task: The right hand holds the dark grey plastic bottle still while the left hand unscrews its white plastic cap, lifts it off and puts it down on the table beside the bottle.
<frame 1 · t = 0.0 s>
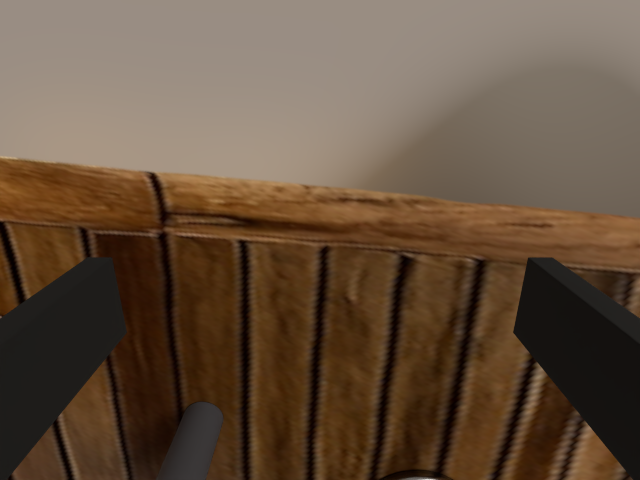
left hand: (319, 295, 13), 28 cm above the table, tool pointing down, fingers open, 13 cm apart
bottle: (203, 417, 50), on the table
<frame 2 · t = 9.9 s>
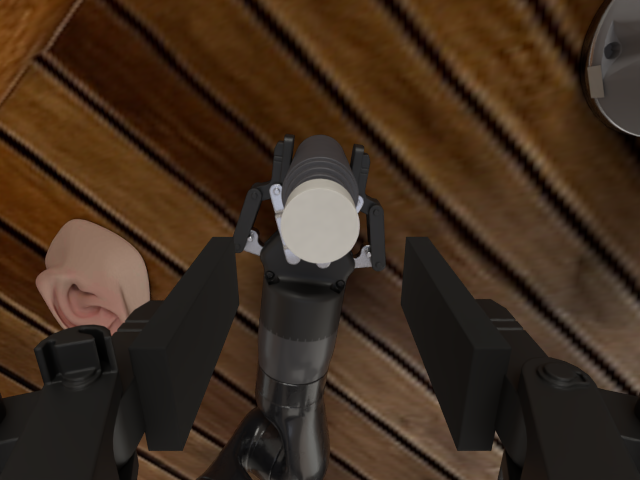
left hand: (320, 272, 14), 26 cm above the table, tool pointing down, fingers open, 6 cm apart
right hand: (324, 141, 32), fingers closed on bottle, 5 cm apart
cap: (320, 225, 19), point 21 cm above the table, screwed on, not yet turned
bottle: (319, 160, 39), on the table, touching right hand
anatomical model: (101, 278, 43), on the table
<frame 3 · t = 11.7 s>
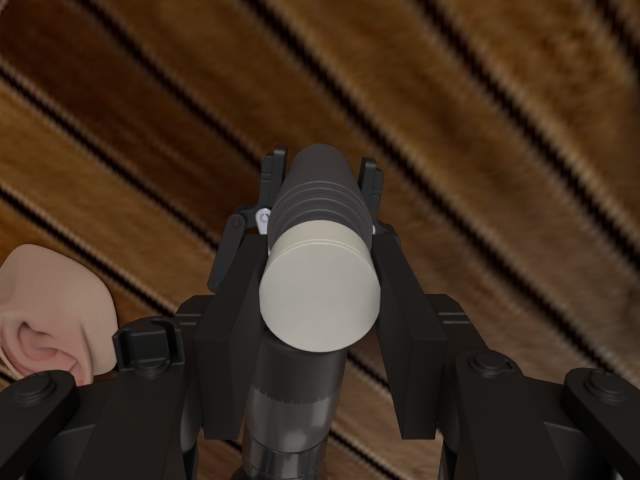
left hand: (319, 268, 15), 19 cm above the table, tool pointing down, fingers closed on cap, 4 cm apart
cap: (319, 296, 13), point 21 cm above the table, screwed on, not yet turned, touching left hand
bottle: (319, 174, 32), on the table, touching right hand
anatomical model: (60, 313, 36), on the table
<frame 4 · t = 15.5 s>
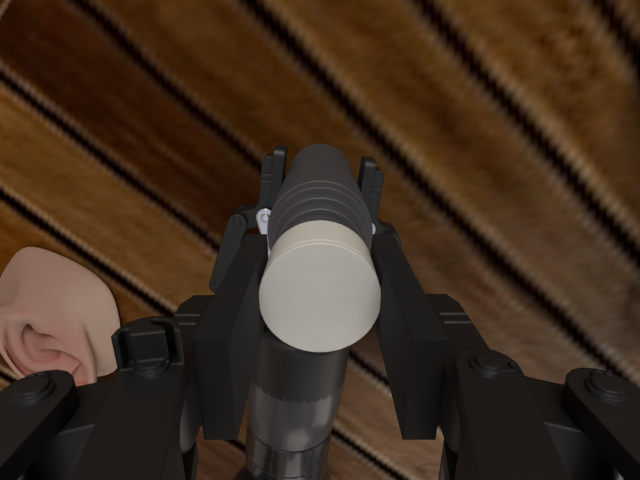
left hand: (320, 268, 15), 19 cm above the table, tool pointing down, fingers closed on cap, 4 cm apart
cap: (319, 296, 13), point 21 cm above the table, turned 136° so far, risen 0.1 cm, still on its thread, touching left hand
bottle: (320, 174, 32), on the table, touching right hand
anatomical model: (63, 315, 37), on the table
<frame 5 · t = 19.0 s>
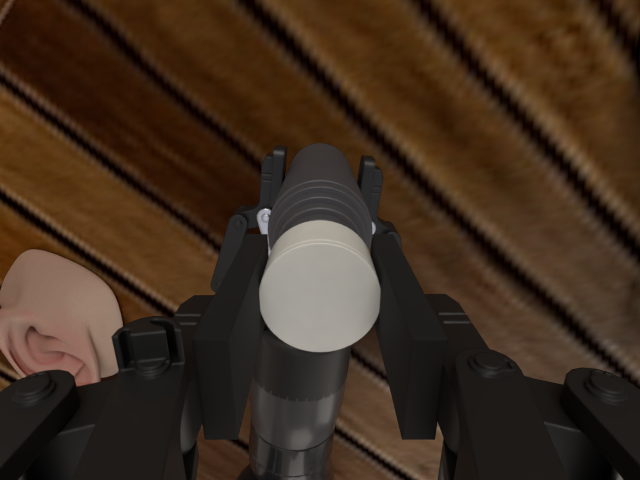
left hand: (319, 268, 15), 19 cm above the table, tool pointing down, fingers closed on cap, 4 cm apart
cap: (319, 296, 13), point 21 cm above the table, turned 273° so far, risen 0.3 cm, still on its thread, touching left hand
bottle: (320, 174, 32), on the table, touching right hand
anatomical model: (66, 317, 37), on the table
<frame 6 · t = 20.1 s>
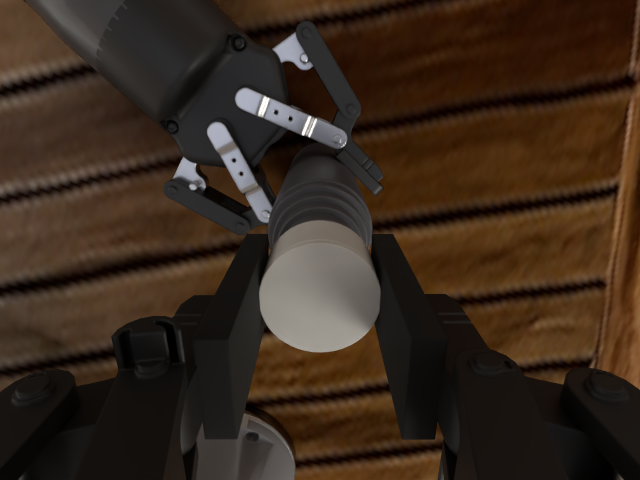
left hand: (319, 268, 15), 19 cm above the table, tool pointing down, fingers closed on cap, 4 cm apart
right hand: (347, 218, 27), fingers closed on bottle, 5 cm apart
cap: (319, 296, 13), point 21 cm above the table, off its thread, touching left hand
bottle: (320, 173, 32), on the table, touching right hand
when the left hand's fingers open (2 cm above the table, at t = 25.4 s): cap drops 2 cm, point 2 cm above the table.
when the right hand's fingers open (7 cm above the table, at t = 26.7 s): bottle stays where it is, on the table.
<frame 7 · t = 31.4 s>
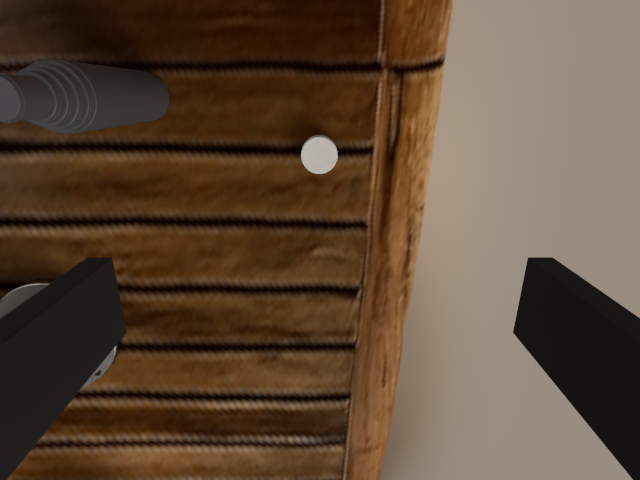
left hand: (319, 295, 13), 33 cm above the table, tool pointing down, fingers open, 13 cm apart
cap: (319, 155, 42), point 2 cm above the table, off its thread
bottle: (146, 96, 42), on the table
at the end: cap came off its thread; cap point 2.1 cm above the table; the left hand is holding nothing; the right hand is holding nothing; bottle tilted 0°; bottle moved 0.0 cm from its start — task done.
